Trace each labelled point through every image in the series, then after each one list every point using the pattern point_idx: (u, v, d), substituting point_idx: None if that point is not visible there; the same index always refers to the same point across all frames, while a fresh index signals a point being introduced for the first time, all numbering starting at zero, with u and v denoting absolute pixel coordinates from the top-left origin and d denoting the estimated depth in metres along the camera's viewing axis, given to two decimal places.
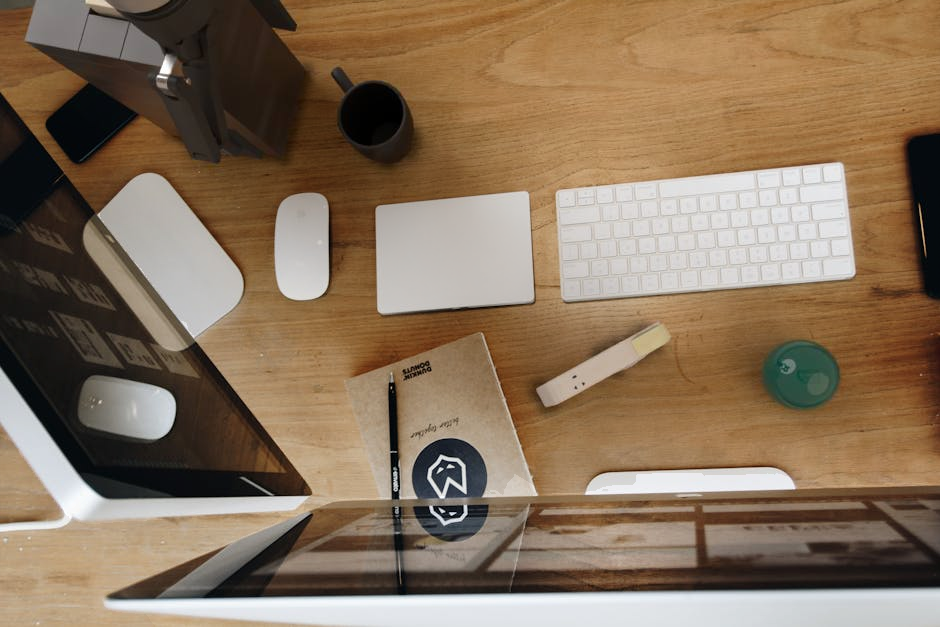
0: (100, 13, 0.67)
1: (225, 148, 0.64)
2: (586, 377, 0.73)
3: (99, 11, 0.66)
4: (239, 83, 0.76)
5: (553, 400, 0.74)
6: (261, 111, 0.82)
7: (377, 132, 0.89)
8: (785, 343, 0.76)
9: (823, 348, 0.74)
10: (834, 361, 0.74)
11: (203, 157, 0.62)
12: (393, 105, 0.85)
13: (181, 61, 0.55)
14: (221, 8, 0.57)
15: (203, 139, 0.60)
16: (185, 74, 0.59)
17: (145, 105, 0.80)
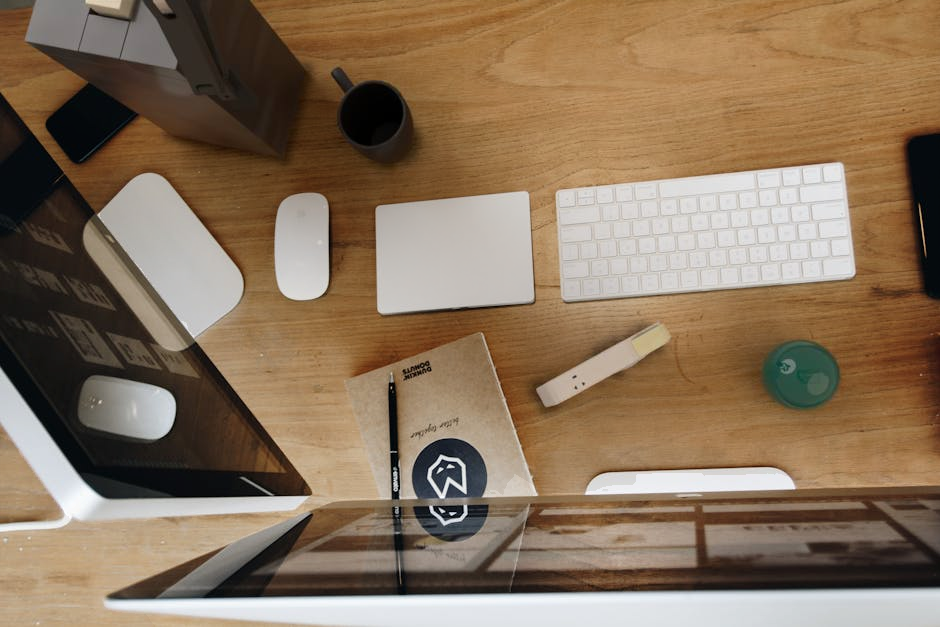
0: (100, 13, 0.67)
1: (225, 83, 0.62)
2: (586, 377, 0.73)
3: (99, 11, 0.66)
4: None
5: (553, 400, 0.74)
6: (261, 111, 0.82)
7: (377, 132, 0.89)
8: (785, 343, 0.76)
9: (823, 348, 0.74)
10: (834, 361, 0.74)
11: (207, 89, 0.59)
12: (393, 105, 0.85)
13: None
14: None
15: (206, 63, 0.57)
16: None
17: (145, 105, 0.80)
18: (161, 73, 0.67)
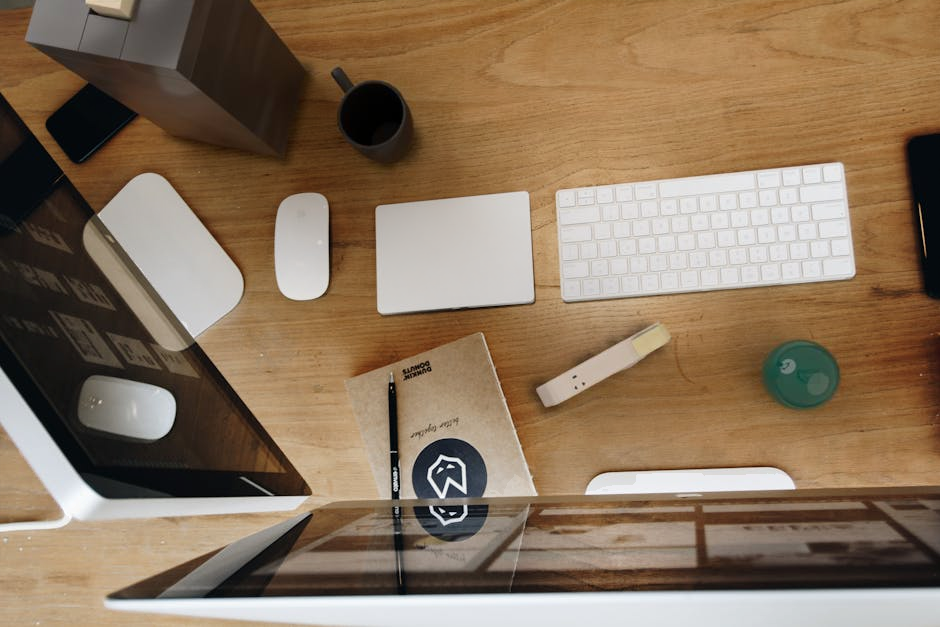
0: (100, 13, 0.67)
1: None
2: (586, 377, 0.73)
3: (99, 11, 0.66)
4: (239, 83, 0.76)
5: (553, 400, 0.74)
6: (261, 111, 0.82)
7: (377, 132, 0.89)
8: (785, 343, 0.76)
9: (823, 348, 0.74)
10: (834, 362, 0.74)
11: None
12: (393, 105, 0.85)
13: None
14: None
15: None
16: None
17: (145, 105, 0.80)
18: (161, 73, 0.67)
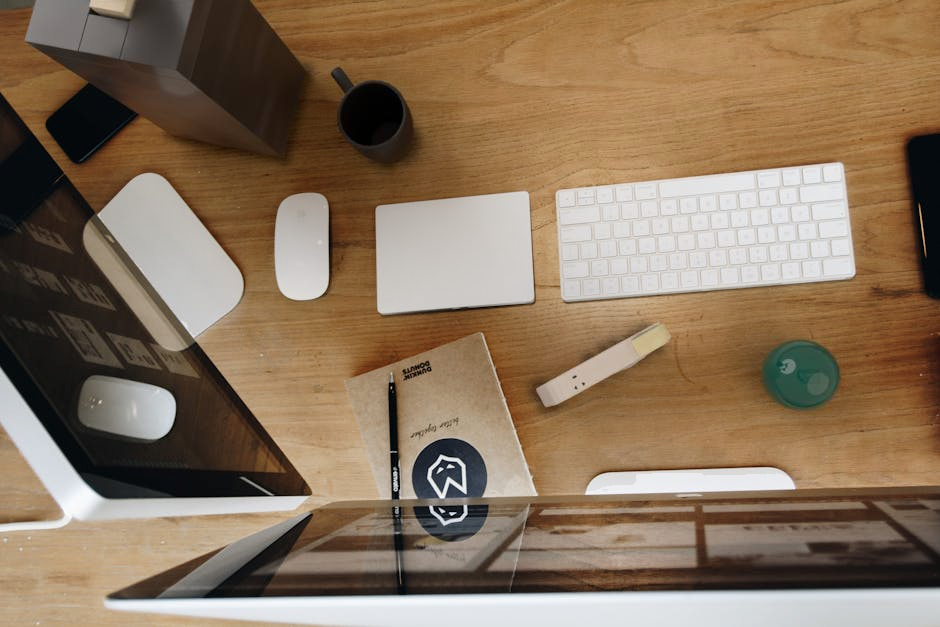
0: (104, 16, 0.67)
1: None
2: (586, 377, 0.73)
3: (103, 14, 0.67)
4: (239, 83, 0.76)
5: (553, 400, 0.74)
6: (261, 111, 0.82)
7: (377, 132, 0.89)
8: (785, 343, 0.76)
9: (823, 348, 0.74)
10: (834, 361, 0.74)
11: None
12: (393, 105, 0.85)
13: None
14: None
15: None
16: None
17: (145, 105, 0.80)
18: (161, 73, 0.67)
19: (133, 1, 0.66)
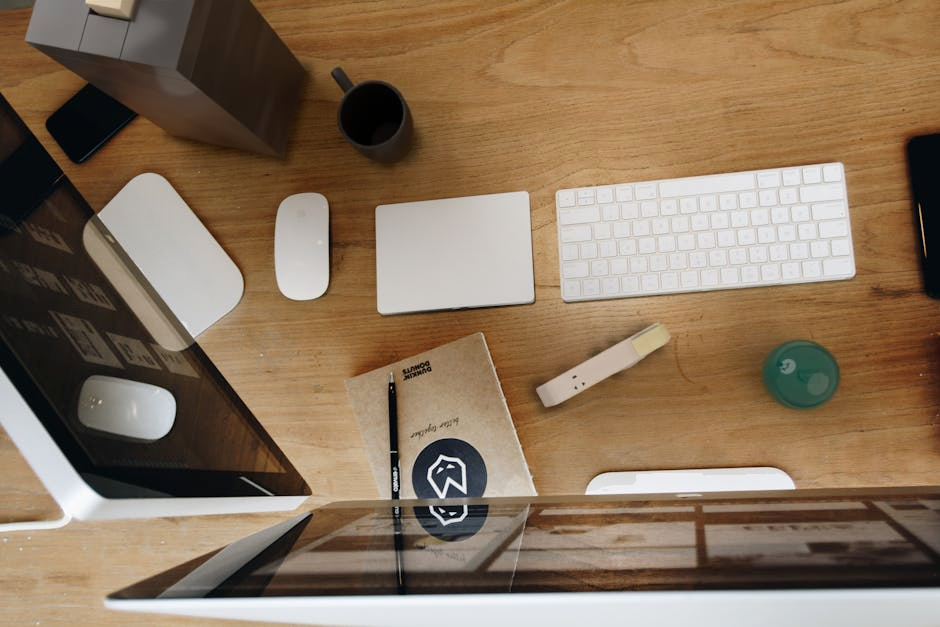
0: (100, 13, 0.67)
1: None
2: (586, 377, 0.73)
3: (99, 11, 0.66)
4: (239, 83, 0.76)
5: (553, 400, 0.74)
6: (261, 111, 0.82)
7: (377, 132, 0.89)
8: (785, 343, 0.76)
9: (823, 348, 0.74)
10: (834, 361, 0.74)
11: None
12: (393, 105, 0.85)
13: None
14: None
15: None
16: None
17: (145, 105, 0.80)
18: (161, 73, 0.67)
19: None
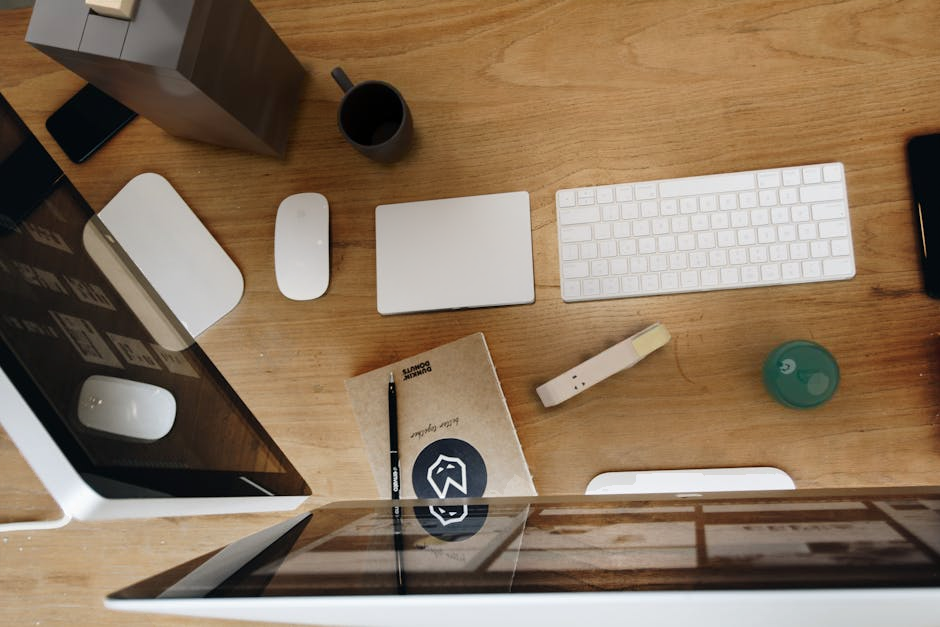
0: (100, 13, 0.67)
1: None
2: (586, 377, 0.73)
3: (99, 11, 0.66)
4: (239, 83, 0.76)
5: (553, 400, 0.74)
6: (261, 111, 0.82)
7: (377, 132, 0.89)
8: (785, 343, 0.76)
9: (823, 348, 0.74)
10: (834, 361, 0.74)
11: None
12: (393, 105, 0.85)
13: None
14: None
15: None
16: None
17: (145, 105, 0.80)
18: (161, 73, 0.67)
19: None
